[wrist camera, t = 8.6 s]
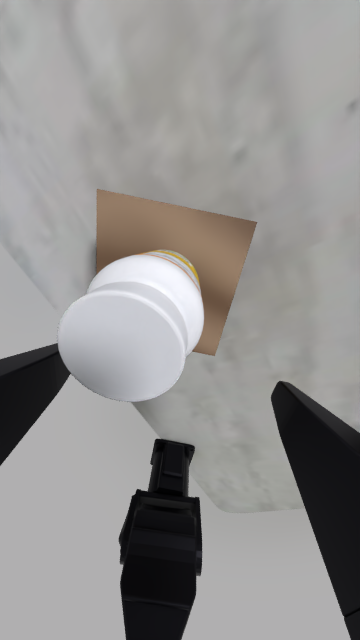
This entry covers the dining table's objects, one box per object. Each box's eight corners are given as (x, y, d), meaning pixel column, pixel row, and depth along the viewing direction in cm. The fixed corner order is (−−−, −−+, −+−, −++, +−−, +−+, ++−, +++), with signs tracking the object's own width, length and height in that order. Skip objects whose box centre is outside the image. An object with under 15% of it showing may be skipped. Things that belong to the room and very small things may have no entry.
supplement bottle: (146, 324, 16) (86, 428, 7) (120, 262, 14) (-8, 298, 5) (207, 307, 15) (227, 404, 6) (188, 238, 13) (176, 230, 4)
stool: (210, 331, 21) (214, 355, 17) (117, 312, 21) (96, 332, 17) (239, 227, 17) (257, 222, 12) (123, 203, 17) (96, 188, 12)
